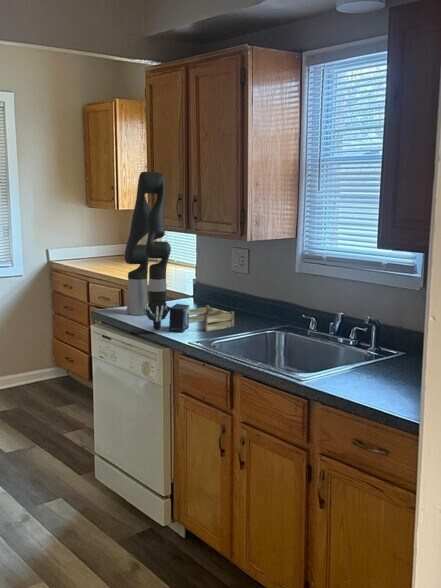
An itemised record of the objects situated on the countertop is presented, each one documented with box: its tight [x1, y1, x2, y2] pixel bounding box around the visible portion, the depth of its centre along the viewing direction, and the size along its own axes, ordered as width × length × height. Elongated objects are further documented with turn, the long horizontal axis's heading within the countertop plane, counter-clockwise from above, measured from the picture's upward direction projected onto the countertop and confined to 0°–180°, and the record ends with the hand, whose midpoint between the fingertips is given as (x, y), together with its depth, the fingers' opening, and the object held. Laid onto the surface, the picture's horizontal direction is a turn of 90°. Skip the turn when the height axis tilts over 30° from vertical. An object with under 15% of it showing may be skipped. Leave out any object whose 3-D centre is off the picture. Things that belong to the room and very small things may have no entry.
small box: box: [168, 303, 190, 333], centre depth 276 cm, size 11×6×10 cm, turn 168°
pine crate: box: [189, 304, 235, 332], centre depth 287 cm, size 18×16×7 cm
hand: (156, 329), depth 269 cm, fingers closed
